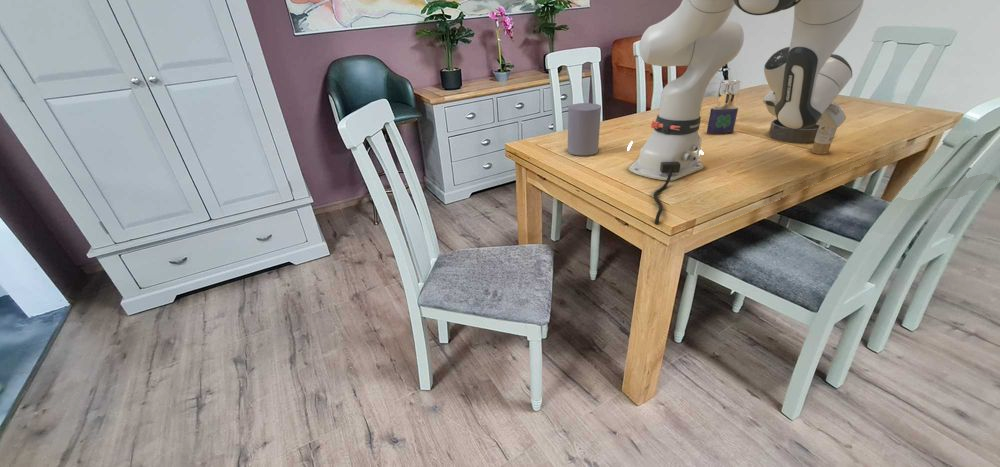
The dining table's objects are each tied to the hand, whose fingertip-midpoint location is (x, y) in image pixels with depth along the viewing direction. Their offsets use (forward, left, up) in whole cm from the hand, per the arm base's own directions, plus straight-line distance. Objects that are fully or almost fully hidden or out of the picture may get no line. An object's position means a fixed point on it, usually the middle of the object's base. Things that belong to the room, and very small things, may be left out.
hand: (811, 126), depth 122 cm
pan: (+19, +7, -9) cm, 22 cm away
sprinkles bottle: (+6, -3, -9) cm, 11 cm away
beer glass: (+26, +33, -9) cm, 43 cm away
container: (-35, +56, -9) cm, 67 cm away
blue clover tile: (+10, +28, -9) cm, 31 cm away
